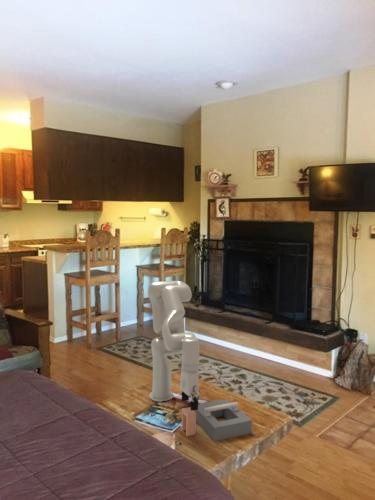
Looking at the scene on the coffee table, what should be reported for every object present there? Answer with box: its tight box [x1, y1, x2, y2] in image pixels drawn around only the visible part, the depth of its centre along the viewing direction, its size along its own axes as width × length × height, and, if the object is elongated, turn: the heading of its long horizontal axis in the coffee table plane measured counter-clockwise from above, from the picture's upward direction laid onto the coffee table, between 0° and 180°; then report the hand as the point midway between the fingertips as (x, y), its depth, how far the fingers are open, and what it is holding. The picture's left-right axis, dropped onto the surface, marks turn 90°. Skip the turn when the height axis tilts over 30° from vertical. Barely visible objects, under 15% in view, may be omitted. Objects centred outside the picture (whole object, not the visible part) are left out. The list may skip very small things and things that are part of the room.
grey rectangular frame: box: [193, 398, 253, 442], centre depth 191 cm, size 22×18×10 cm
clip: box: [180, 406, 197, 437], centre depth 185 cm, size 6×4×10 cm, turn 23°
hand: (189, 405), depth 184 cm, fingers open, 9 cm apart
